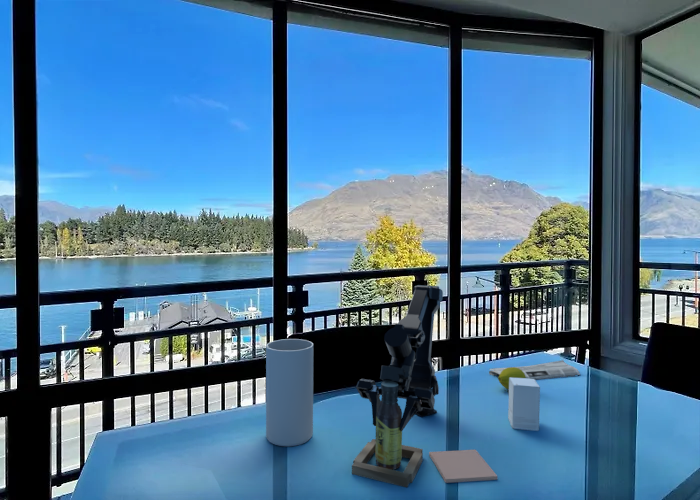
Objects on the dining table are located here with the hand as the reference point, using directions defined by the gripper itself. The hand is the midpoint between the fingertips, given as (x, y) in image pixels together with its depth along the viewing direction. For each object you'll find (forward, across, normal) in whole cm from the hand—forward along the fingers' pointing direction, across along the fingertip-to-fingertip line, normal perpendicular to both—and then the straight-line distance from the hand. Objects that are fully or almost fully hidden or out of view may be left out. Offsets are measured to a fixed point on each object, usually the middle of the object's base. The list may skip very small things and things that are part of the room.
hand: (387, 427), depth 101 cm
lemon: (-40, +25, +54) cm, 72 cm away
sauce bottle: (+6, 0, +8) cm, 10 cm away
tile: (+1, +16, +12) cm, 20 cm away
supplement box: (-20, +29, +34) cm, 49 cm away
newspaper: (-56, +32, +71) cm, 96 cm away
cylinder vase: (+4, -29, +10) cm, 31 cm away
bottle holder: (+6, 0, +8) cm, 10 cm away
